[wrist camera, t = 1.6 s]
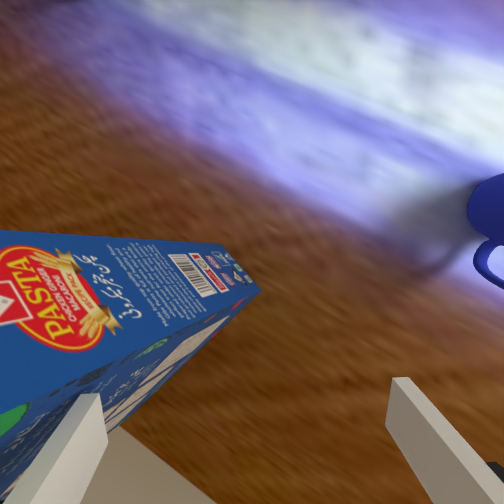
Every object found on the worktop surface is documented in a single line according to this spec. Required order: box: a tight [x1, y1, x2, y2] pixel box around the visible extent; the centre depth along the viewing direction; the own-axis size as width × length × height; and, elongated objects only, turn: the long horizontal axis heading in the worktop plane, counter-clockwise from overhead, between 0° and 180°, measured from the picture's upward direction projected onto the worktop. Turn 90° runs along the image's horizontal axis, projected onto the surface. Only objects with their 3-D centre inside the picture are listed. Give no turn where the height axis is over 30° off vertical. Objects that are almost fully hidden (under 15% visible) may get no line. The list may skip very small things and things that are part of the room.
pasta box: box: [0, 230, 262, 500], centre depth 24 cm, size 28×8×28 cm, turn 136°
